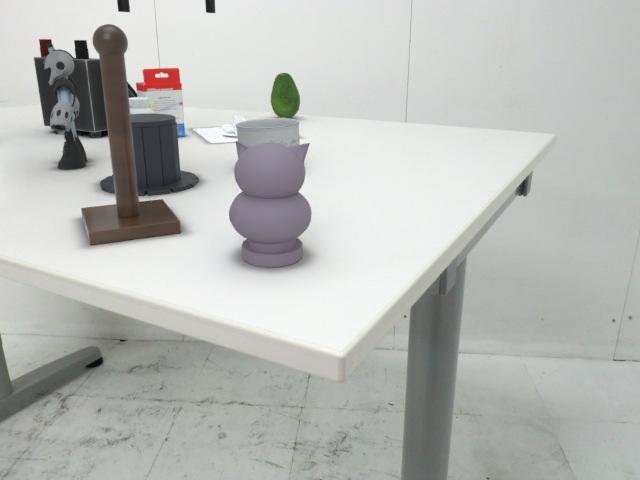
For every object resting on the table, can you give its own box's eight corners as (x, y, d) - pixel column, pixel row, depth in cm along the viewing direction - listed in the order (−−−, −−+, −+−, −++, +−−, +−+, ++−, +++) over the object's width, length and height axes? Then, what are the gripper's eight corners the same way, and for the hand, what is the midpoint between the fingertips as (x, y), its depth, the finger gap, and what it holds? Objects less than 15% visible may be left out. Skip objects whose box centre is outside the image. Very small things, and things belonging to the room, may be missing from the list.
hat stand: (82, 219, 71) (55, 23, 63) (163, 209, 75) (147, 25, 67) (90, 245, 62) (59, 23, 54) (181, 232, 66) (165, 24, 59)
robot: (84, 176, 91) (67, 44, 84) (51, 178, 90) (31, 44, 83) (91, 152, 109) (77, 42, 102) (64, 153, 107) (48, 41, 100)
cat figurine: (220, 266, 57) (213, 148, 53) (243, 240, 64) (240, 134, 60) (303, 273, 56) (303, 152, 52) (317, 245, 63) (319, 137, 59)
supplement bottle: (158, 144, 118) (154, 96, 114) (155, 149, 113) (150, 99, 109) (131, 144, 117) (126, 96, 114) (127, 149, 112) (121, 99, 109)
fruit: (270, 116, 157) (269, 71, 153) (298, 116, 158) (298, 71, 154) (271, 120, 150) (270, 73, 146) (301, 120, 151) (301, 73, 147)
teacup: (277, 177, 92) (277, 127, 89) (224, 169, 97) (222, 122, 94) (319, 161, 104) (320, 117, 101) (269, 155, 109) (269, 112, 106)
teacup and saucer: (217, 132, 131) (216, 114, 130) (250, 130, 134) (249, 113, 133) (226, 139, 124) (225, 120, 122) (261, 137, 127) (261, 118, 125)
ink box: (176, 133, 130) (172, 66, 125) (185, 136, 126) (181, 67, 121) (140, 136, 125) (133, 67, 120) (148, 140, 122) (142, 68, 116)
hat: (96, 176, 91) (88, 113, 88) (185, 169, 97) (181, 109, 94) (107, 199, 79) (98, 127, 75) (208, 189, 85) (204, 121, 81)
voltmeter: (150, 128, 136) (141, 39, 129) (95, 138, 122) (83, 40, 115) (101, 122, 143) (91, 38, 136) (45, 132, 129) (30, 39, 122)
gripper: (56, -158, 77) (77, 10, 85) (236, -160, 75) (242, 12, 83) (82, -142, 84) (99, 12, 92) (247, -144, 83) (252, 14, 90)
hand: (167, 12), depth 87 cm, fingers open, 13 cm apart
